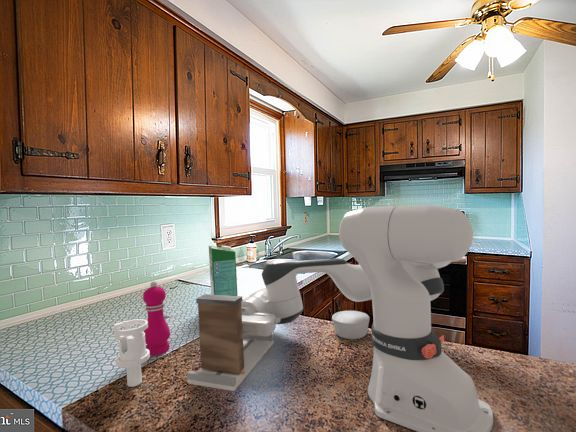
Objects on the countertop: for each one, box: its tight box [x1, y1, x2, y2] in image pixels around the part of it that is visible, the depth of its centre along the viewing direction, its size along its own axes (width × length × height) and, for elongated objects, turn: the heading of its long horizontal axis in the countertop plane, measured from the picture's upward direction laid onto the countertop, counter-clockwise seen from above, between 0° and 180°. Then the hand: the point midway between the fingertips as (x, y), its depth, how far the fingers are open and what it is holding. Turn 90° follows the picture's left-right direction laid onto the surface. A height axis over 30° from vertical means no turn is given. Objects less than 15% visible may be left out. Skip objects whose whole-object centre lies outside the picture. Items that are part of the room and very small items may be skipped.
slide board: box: [186, 334, 274, 392], centre depth 81 cm, size 24×12×2 cm, turn 162°
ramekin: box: [331, 310, 370, 340], centre depth 95 cm, size 11×11×5 cm
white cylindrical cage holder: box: [113, 318, 151, 388], centre depth 72 cm, size 7×7×15 cm
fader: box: [195, 293, 244, 374], centre depth 74 cm, size 4×10×17 cm, turn 72°
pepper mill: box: [142, 281, 171, 356], centre depth 88 cm, size 7×7×20 cm
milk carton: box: [208, 245, 239, 296], centre depth 124 cm, size 9×9×25 cm
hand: (224, 334), depth 76 cm, fingers closed, pressing on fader
